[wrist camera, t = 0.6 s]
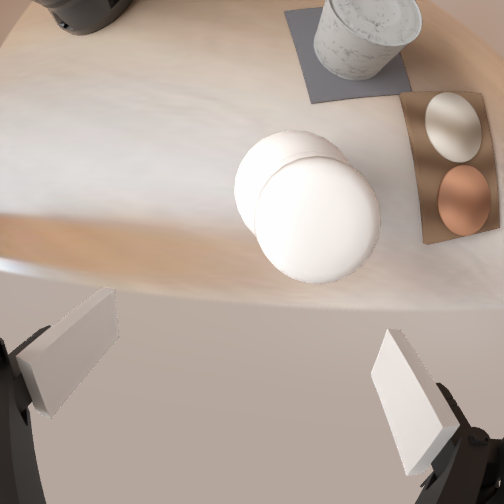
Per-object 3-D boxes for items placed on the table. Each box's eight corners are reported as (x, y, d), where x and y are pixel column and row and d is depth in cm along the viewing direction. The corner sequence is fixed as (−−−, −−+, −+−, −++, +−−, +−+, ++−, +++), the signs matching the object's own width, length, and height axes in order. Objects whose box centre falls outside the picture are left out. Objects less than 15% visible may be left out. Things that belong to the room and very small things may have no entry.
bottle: (297, 136, 35) (364, 20, 6) (332, 192, 36) (489, 269, 7) (240, 171, 36) (112, 178, 8) (276, 226, 38) (270, 398, 9)
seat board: (398, 94, 32) (404, 91, 30) (476, 94, 30) (483, 92, 28) (423, 242, 37) (428, 245, 35) (495, 226, 35) (501, 228, 33)
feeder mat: (284, 12, 30) (284, 11, 30) (381, 6, 28) (381, 5, 28) (311, 103, 33) (311, 103, 33) (411, 93, 32) (412, 93, 31)
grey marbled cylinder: (398, 59, 30) (439, 24, 18) (349, 94, 32) (379, 63, 21) (349, 8, 29) (371, -40, 17) (297, 40, 31) (304, -9, 19)
